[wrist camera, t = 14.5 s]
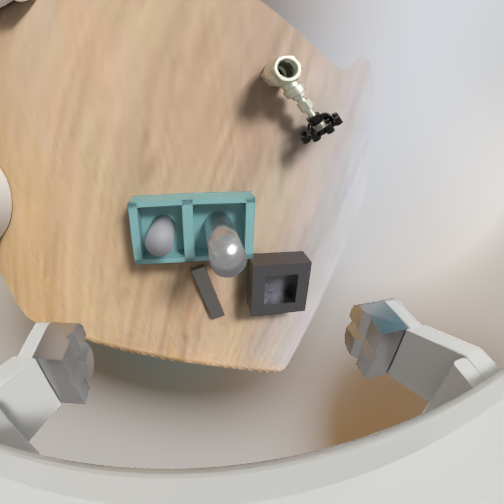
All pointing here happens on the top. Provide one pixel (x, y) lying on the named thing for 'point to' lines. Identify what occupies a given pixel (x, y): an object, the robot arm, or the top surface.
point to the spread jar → (3, 0)
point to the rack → (185, 224)
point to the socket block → (278, 282)
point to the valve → (299, 96)
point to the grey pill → (224, 245)
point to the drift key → (207, 291)
